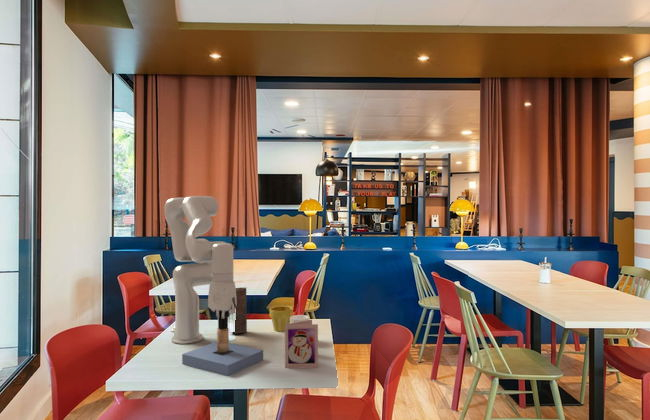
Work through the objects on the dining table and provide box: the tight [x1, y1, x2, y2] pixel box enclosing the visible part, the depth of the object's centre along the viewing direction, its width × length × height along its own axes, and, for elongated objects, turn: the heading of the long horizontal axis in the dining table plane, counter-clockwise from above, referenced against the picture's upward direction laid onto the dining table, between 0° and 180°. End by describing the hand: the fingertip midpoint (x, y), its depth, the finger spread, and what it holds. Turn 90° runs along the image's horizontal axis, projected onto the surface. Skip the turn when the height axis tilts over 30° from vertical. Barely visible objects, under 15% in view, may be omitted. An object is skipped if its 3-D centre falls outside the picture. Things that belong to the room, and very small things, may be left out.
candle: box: [234, 287, 248, 334], centre depth 196 cm, size 8×7×20 cm
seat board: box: [181, 341, 264, 377], centre depth 160 cm, size 22×18×4 cm
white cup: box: [290, 314, 310, 324], centre depth 184 cm, size 8×8×10 cm
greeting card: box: [284, 319, 319, 369], centre depth 156 cm, size 11×7×15 cm, turn 91°
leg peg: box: [216, 327, 230, 356], centre depth 160 cm, size 4×4×12 cm
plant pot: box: [269, 305, 294, 333], centre depth 201 cm, size 10×10×10 cm
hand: (223, 328), depth 159 cm, fingers closed
